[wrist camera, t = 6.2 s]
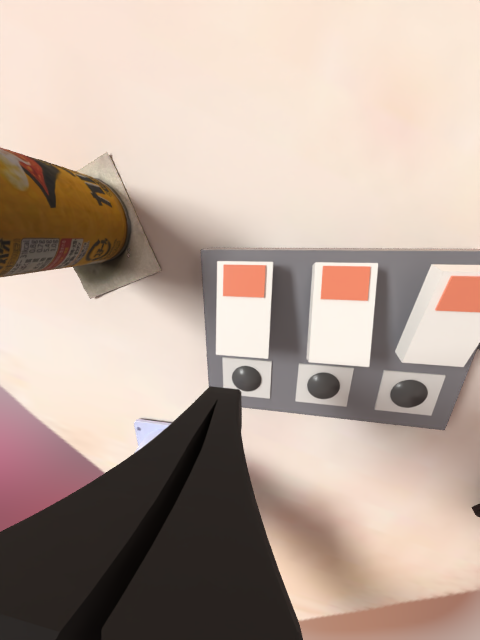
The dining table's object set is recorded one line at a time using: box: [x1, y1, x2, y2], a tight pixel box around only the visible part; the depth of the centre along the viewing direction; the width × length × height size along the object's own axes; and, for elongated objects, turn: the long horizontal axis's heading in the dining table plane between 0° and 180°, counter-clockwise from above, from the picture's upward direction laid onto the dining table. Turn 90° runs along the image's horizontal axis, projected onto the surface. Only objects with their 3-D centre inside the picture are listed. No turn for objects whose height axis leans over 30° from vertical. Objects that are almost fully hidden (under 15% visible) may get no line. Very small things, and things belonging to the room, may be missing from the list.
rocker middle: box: [306, 262, 378, 367], centre depth 13 cm, size 6×3×1 cm, turn 0°
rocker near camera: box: [395, 264, 480, 367], centre depth 12 cm, size 6×3×1 cm, turn 0°
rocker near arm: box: [216, 261, 273, 359], centre depth 14 cm, size 6×3×1 cm, turn 0°
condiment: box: [0, 148, 161, 299], centre depth 12 cm, size 7×8×12 cm
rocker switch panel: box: [201, 248, 480, 430], centre depth 16 cm, size 12×26×3 cm, turn 90°
